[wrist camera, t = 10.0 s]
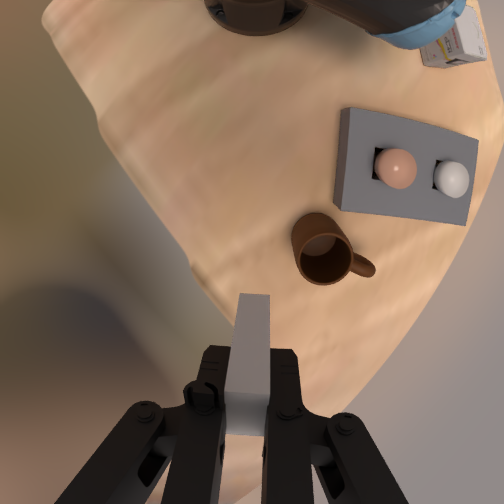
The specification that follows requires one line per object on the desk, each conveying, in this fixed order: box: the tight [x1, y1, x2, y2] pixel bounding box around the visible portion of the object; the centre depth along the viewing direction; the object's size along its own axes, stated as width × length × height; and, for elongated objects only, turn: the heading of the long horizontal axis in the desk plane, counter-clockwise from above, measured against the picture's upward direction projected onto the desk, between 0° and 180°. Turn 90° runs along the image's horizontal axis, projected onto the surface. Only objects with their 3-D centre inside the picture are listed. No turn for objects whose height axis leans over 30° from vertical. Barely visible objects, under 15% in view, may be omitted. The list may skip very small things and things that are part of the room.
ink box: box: [420, 5, 487, 68], centre depth 27 cm, size 9×5×12 cm, turn 9°
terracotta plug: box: [373, 148, 417, 189], centre depth 36 cm, size 5×5×8 cm
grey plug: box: [433, 160, 469, 198], centre depth 36 cm, size 5×5×8 cm
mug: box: [291, 213, 376, 285], centre depth 41 cm, size 12×8×9 cm, turn 72°
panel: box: [333, 107, 479, 226], centre depth 38 cm, size 14×22×5 cm, turn 87°
